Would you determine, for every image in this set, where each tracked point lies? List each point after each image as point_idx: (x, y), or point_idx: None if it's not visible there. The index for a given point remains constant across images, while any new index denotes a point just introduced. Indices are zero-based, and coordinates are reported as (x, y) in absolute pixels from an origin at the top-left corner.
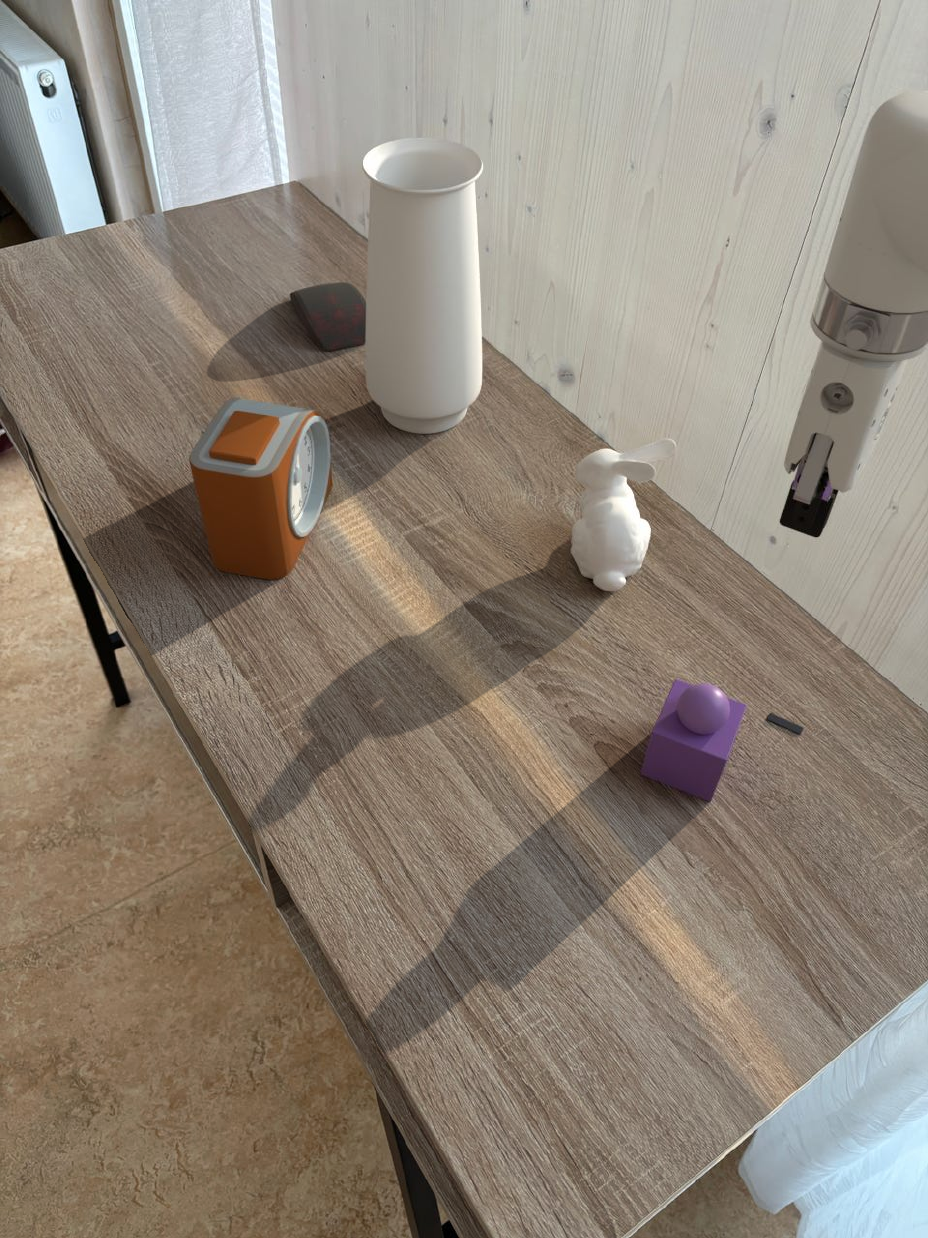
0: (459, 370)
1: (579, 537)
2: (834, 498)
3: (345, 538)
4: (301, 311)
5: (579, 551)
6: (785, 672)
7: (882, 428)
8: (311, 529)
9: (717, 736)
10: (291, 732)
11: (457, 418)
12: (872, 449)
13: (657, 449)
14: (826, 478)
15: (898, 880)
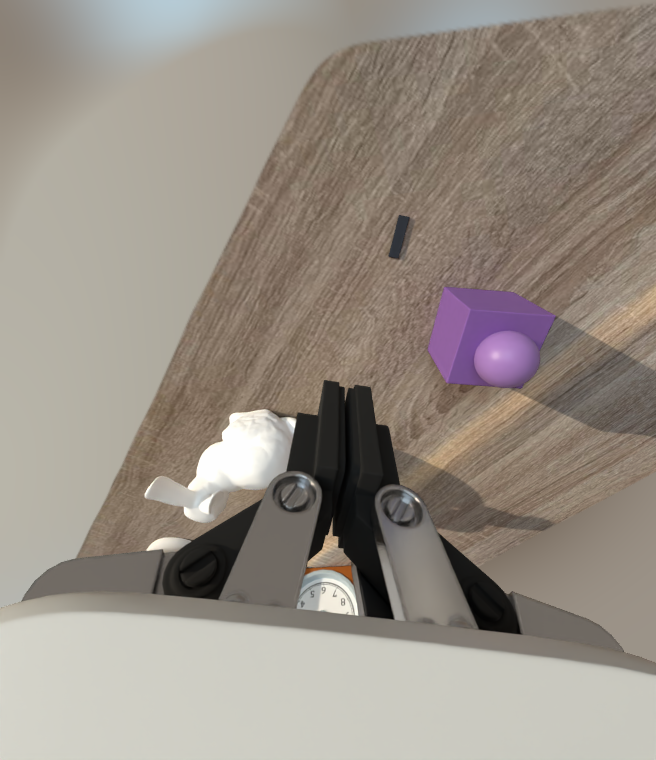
0: None
1: None
2: (363, 461)
3: (325, 553)
4: None
5: None
6: (324, 250)
7: (58, 756)
8: (331, 571)
9: (522, 331)
10: (486, 533)
11: (181, 544)
12: (368, 750)
13: (165, 494)
14: (326, 520)
15: (611, 44)
